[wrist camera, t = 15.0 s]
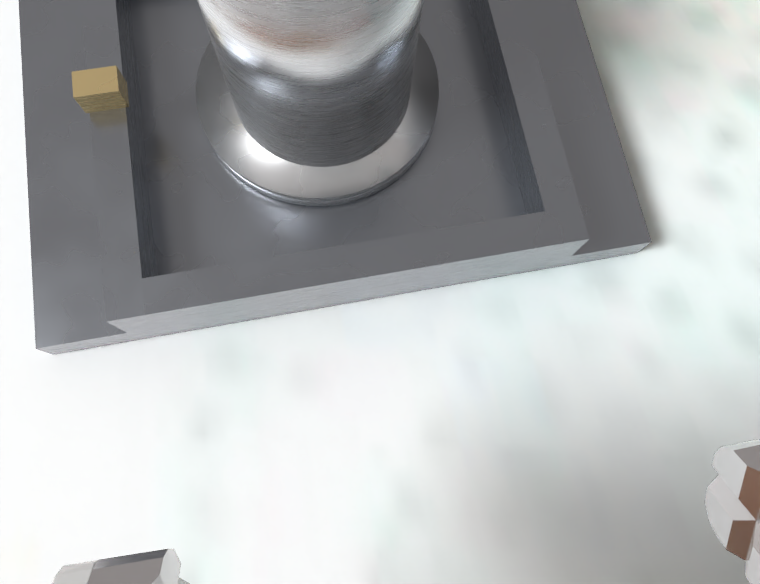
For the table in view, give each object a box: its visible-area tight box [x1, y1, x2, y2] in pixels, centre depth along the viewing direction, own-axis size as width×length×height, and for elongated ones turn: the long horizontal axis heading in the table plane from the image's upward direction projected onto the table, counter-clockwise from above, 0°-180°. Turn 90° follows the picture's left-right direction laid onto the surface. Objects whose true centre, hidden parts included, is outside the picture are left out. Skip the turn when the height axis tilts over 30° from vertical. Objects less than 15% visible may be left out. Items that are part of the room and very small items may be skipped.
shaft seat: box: [19, 0, 651, 354], centre depth 19 cm, size 18×13×3 cm
